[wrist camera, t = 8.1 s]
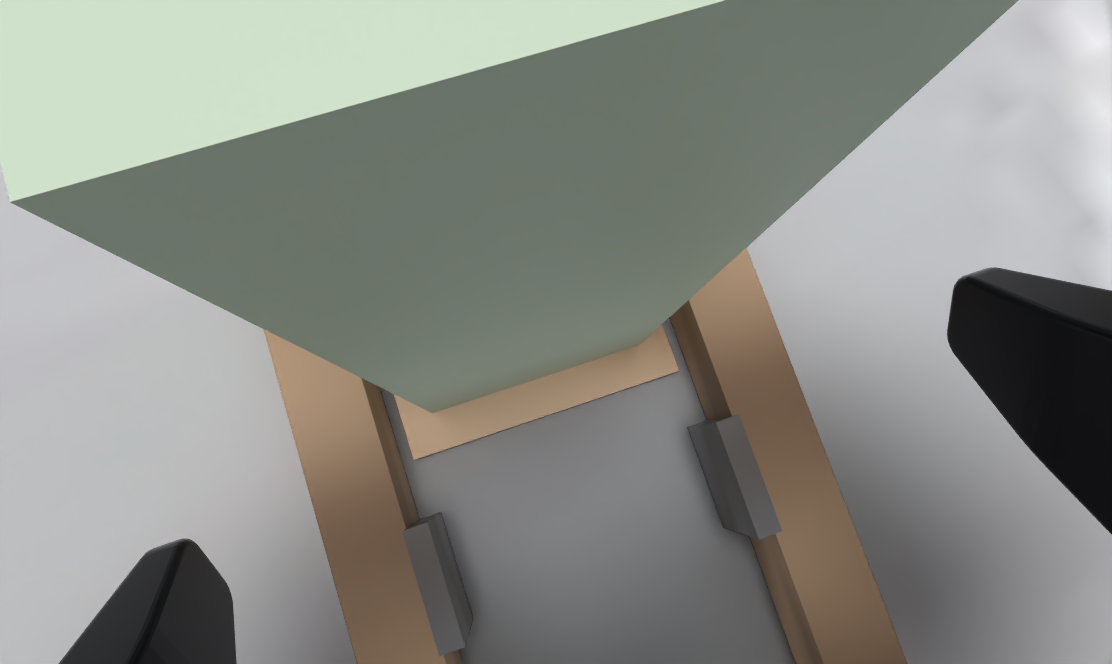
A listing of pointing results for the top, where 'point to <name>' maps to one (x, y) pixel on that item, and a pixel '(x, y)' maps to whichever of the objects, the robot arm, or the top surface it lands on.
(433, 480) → the top surface
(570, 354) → the sage block
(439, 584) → the wooden leg stand
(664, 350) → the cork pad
